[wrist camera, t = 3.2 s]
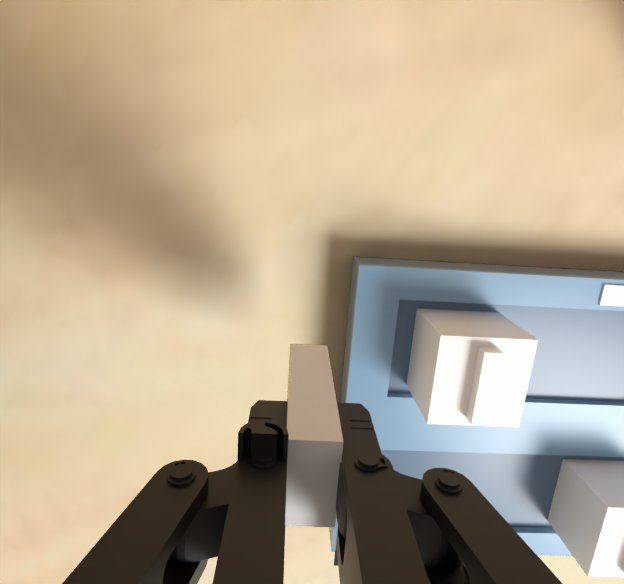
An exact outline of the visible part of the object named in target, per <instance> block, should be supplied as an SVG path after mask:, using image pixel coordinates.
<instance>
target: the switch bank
mask: <svg viewBox="0 0 624 584" xmlns="http://www.w3.org/2000/svg"><path fill="white" fill-rule="evenodd" d="M417 308H421V309H441V310H461V311H481V312H499V313H501V314H502V315H503V316H505V317H506V318H508V319H509V320H511V321H512V322H513V323H515V324H516V325H518V326H519V327H520V328H522V329H523V330H525V331H526V332H528V333H529V334H530V335H532V336H533V337H535V338H536V339H538V343H537V348H536V352H535V357H534V361H533V366H532V371H531V375H530V380H529V384H528V389H527V393H526V398H525V403H524V407H523V412H522V416H521V421H520V425H519V427H498V426H469V425H440V424H427V423H426V421H425V419H424V417H423V415H422V413H421V411H420V410H419V408H418V406H417V404H416V402H415V400H414V398H413V396H412V394H411V392H410V390H409V389H408V387H407V385H406V384H407V377H408V370H409V362H410V355H411V348H412V340H413V333H414V326H415V318H416V311H417ZM340 403H359V404H362V405H363V406H364V407H365V408H366V409H367V410H368V411H369V412H370V416H371V419H372V423H373V426H374V430H375V433H376V436H377V439H378V443H379V446H380V449H381V453H382V454H383V455H384V456H385V457H387V458H388V459H389V461H390V462H391V464H392V466H393V469H394V470H395V471H397V472H399V473H401V474H404V475H407V476H410V477H414V478H418V479H421V480H422V478H423V474H424V473H425V472H426V471H427V470H429V469H432V468H447V469H451V470H454V471H456V472H458V473H460V474H463V475H464V476H465V477H466V478H468V479H469V480H470V481H471V482H472V483H473V484H474V485H475V487H476V488H477V489H478V490H479V491H480V492H481V493H482V494H483V496H484V497H485V498H486V499H487V500H488V501H489V502H490V503H491V505H492V506H493V507H494V508H495V509H496V510H497V511H498V512H499V513H500V515H501V516H502V517H503V518H504V519H505V520H506V521H507V522H508V524H509V525H510V526H511V527H512V528H513V529H514V530H515V531H516V533H517V534H518V535H519V536H520V537H521V538H522V539H523V540H524V541H525V543H526V544H527V545H528V546H529V547H530V548H531V549H532V550H533V552H534V553H535V554H536V555H566V556H573V555H572V554H571V552H570V551H569V550H568V548H567V547H566V546H565V544H564V543H563V541H562V540H561V539H560V537H559V536H558V534H557V533H556V532H555V530H554V529H553V528H552V526H551V525H550V523H549V522H548V521H547V520H548V516H549V512H550V508H551V504H552V500H553V496H554V492H555V488H556V485H557V481H558V477H559V473H560V469H561V465H562V461H563V459H582V460H615V461H624V272H616V271H598V270H580V269H563V268H545V267H527V266H510V265H492V264H474V263H457V262H439V261H421V260H404V259H386V258H369V257H353V266H352V277H351V288H350V299H349V310H348V320H347V331H346V342H345V353H344V364H343V375H342V385H341V396H340ZM337 529H338V524H337V515H336V524H335V527H329V530H330V540H331V550H332V552H335V549H336V539H337Z"/></svg>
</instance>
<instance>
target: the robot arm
mask: <svg viewBox="0 0 624 584" xmlns="http://www.w3.org/2000/svg"><path fill="white" fill-rule="evenodd" d="M336 515H337V524H338V529H337V539H336V549H335V559H334V565H338V566H339V576H340V584H562V583H561V582H560V581H559V580H558V578H557V577H556V576H555V575H554V574H553V573H552V572H551V571H550V569H549V568H548V567H547V566H546V565H545V564H544V563H543V562H542V561H541V559H540V558H539V557H538V556H537V555H536V554H535V553H534V552H533V550H532V549H531V548H530V547H529V546H528V545H527V544H526V543H525V541H524V540H523V539H522V538H521V537H520V536H519V535H518V534H517V533H516V531H515V530H514V529H513V528H512V527H511V526H510V525H509V524H508V522H507V521H506V520H505V519H504V518H503V517H502V516H501V515H500V513H499V512H498V511H497V510H496V509H495V508H494V507H493V506H492V505H491V503H490V502H489V501H488V500H487V499H486V498H485V497H484V496H483V494H482V493H481V492H480V491H479V490H478V489H477V488H476V487H475V485H474V484H473V483H472V482H471V481H470V480H469V479H468V478H466V477H465V476H464V475H463V474H460V473H458V472H456V471H454V470H451V469H447V468H432V469H429V470H427V471H426V472H425V473H424V474H423V478H422V480H421V479H418V478H414V477H410V476H407V475H404V474H401V473H399V472H397V471H395V470H394V469H393V466H392V464H391V462H390V461H389V459H388V458H387V457H385V456H384V455H383V454H382V453H381V449H380V446H379V443H378V439H377V436H376V433H375V430H374V426H373V423H372V419H371V416H370V412H369V411H368V410H367V409H366V408H365V407H364V406H363V405H362V404H359V403H337V401H336V395H335V389H334V383H333V377H332V371H331V365H330V359H329V353H328V347H327V346H325V345H304V344H290V360H289V377H288V395H287V401H264V400H258V401H257V402H256V403H255V404H254V405H253V406H252V407H251V411H250V416H249V421H248V423H247V424H246V425H244V426H243V427H241V429H240V431H239V432H238V461H237V462H236V463H235V464H233V465H232V466H230V467H228V468H226V469H222V470H219V471H214V472H209V473H208V471H207V468H206V467H205V466H204V465H203V464H202V463H199V462H196V461H194V460H180V461H174V462H172V463H169V464H167V465H165V466H163V467H162V468H161V469H160V470H159V471H157V473H156V474H155V475H154V476H153V477H152V478H151V480H150V481H149V482H148V483H147V484H146V486H145V487H144V488H143V489H142V490H141V491H140V493H139V494H138V495H137V496H136V497H135V498H134V500H133V501H132V502H131V503H130V504H129V506H128V507H127V508H126V509H125V510H124V511H123V513H122V514H121V515H120V516H119V517H118V519H117V520H116V521H115V522H114V523H113V524H112V526H111V527H110V528H109V529H108V530H107V532H106V533H105V534H104V535H103V536H102V537H101V539H100V540H99V541H98V542H97V543H96V545H95V546H94V547H93V548H92V549H91V550H90V552H89V553H88V554H87V555H86V556H85V557H84V559H83V560H82V561H81V562H80V563H79V565H78V566H77V567H76V568H75V569H74V570H73V572H72V573H71V574H70V575H69V576H68V578H67V579H66V580H65V581H64V582H63V583H62V584H197V583H198V581H199V579H200V577H201V575H202V573H203V571H204V569H205V567H206V564H207V561H208V559H209V558H213V557H217V556H218V560H217V565H216V570H215V575H214V580H213V584H283V576H284V544H285V526H314V527H335V524H336Z"/></svg>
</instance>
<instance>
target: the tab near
mask: <svg viewBox="0 0 624 584" xmlns="http://www.w3.org/2000/svg"><path fill="white" fill-rule="evenodd" d="M537 343H538V339H536V338H535V337H533V336H532V335H530V334H529V333H528V332H526V331H525V330H523V329H522V328H520V327H519V326H518V325H516V324H515V323H513V322H512V321H511V320H509V319H508V318H506V317H505V316H503V315H502V314H501V313H499V312H481V311H461V310H441V309H421V308H417V311H416V318H415V326H414V333H413V340H412V348H411V355H410V362H409V370H408V377H407V384H406V385H407V387H408V389H409V390H410V392H411V394H412V396H413V398H414V400H415V402H416V404H417V406H418V408H419V410H420V411H421V413H422V415H423V417H424V419H425V421H426V423H427V424H440V425H469V426H498V427H519V425H520V421H521V416H522V412H523V407H524V403H525V398H526V393H527V389H528V384H529V380H530V375H531V371H532V366H533V361H534V357H535V352H536V348H537Z"/></svg>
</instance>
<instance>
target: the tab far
mask: <svg viewBox="0 0 624 584" xmlns="http://www.w3.org/2000/svg"><path fill="white" fill-rule="evenodd" d="M547 521H548V522H549V523H550V525H551V526H552V528H553V529H554V530H555V532H556V533H557V534H558V536H559V537H560V539H561V540H562V541H563V543H564V544H565V546H566V547H567V548H568V550H569V551H570V552H571V554H572V555H573V557H574V558H575V559H576V561H577V562H578V564H579V565H580V566H581V568H582V569H583V570H584V572H585V573H586V575H587V576H600V577H624V461H615V460H582V459H563V461H562V465H561V469H560V473H559V477H558V481H557V485H556V488H555V492H554V496H553V500H552V504H551V508H550V512H549V516H548V520H547Z"/></svg>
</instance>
